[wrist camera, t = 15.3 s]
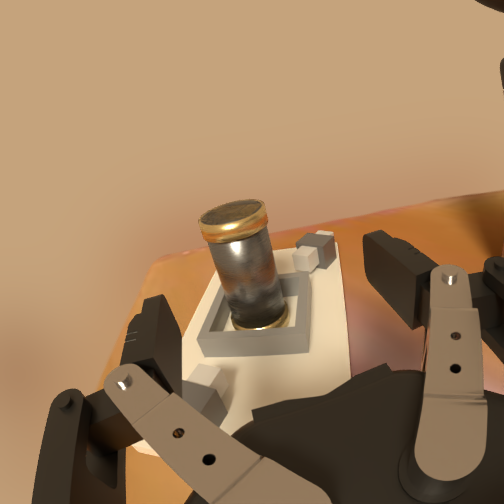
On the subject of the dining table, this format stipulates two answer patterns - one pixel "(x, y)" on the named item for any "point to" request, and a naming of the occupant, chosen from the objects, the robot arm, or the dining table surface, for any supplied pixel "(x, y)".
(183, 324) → the dining table surface
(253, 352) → the stand
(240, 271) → the cylinder
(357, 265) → the dining table surface
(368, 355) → the dining table surface
